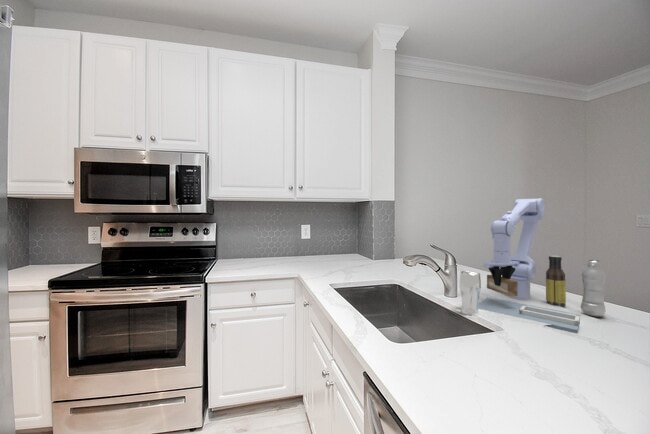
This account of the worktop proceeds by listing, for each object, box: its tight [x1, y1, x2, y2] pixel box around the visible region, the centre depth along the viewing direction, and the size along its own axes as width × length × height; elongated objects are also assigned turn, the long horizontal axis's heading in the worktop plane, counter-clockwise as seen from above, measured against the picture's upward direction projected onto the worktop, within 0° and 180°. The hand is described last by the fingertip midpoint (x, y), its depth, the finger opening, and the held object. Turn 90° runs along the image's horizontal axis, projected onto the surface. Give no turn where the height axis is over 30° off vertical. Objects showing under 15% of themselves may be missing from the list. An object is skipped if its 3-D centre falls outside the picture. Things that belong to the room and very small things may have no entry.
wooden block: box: [486, 274, 518, 297], centre depth 115 cm, size 3×12×6 cm, turn 11°
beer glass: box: [459, 270, 482, 317], centre depth 107 cm, size 7×7×15 cm
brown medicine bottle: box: [545, 255, 567, 308], centre depth 115 cm, size 6×6×20 cm
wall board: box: [478, 296, 582, 334], centre depth 107 cm, size 18×30×2 cm, turn 46°
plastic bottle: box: [580, 259, 607, 318], centre depth 105 cm, size 6×7×20 cm
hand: (501, 285), depth 115 cm, fingers closed on wooden block, 3 cm apart
